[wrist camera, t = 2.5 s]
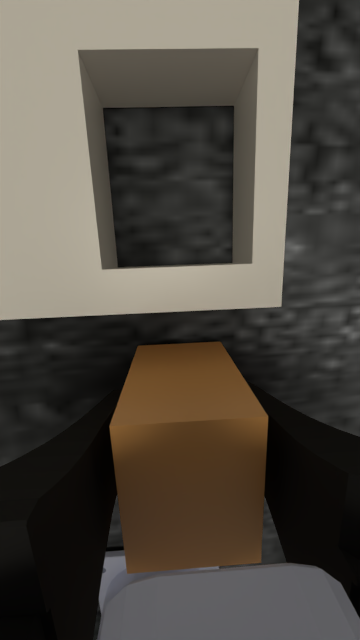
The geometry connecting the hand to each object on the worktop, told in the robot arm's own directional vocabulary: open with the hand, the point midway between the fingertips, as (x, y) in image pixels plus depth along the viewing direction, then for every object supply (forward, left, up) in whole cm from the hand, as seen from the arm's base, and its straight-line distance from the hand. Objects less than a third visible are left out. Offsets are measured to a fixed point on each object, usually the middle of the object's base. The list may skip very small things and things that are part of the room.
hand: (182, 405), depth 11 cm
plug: (0, 0, -2) cm, 2 cm away
